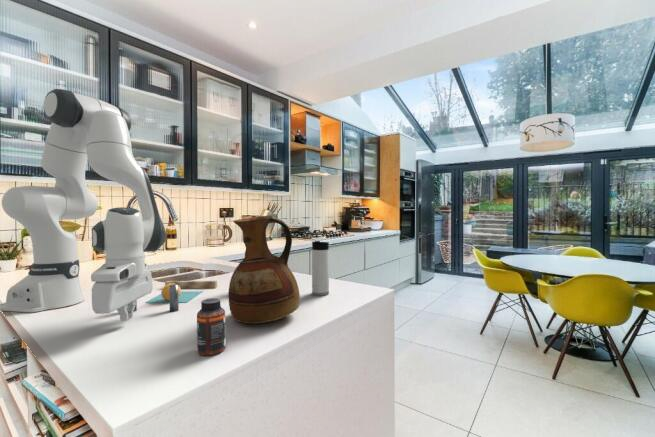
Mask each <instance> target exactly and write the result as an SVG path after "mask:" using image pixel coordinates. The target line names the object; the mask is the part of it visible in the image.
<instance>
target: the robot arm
mask: <svg viewBox="0 0 655 437" xmlns="http://www.w3.org/2000/svg"><path fill="white" fill-rule="evenodd" d="M42 109H43V113H44V116H45V117H46V118H47V120H48V121H49V122H51V125H50V127H49V129H48V132H47V134H46V138H45V143H44V148H43V151H42V155H41V161H40V164H41V167H42V169H43V170H44V172H46V173H47V174H48V175H50V176H52V177H53V178H54V179H55V185H54V186H45V185H43V186H42V185H23V186H22V185H21V186H16V187H11V188H8V189H7V191H6V192H5V193H4V194H3V196H2V199H1V207H2V210H3V211H4V213H5V214H6V215H7V216H9V218H12V219H13V220H15V221H17V222H18V223H20V225H22V226H23V227H24V228H25V230H26V232H27V233H28V235H29V237H30V240H31V245H32V256H33V257H32V258H33V263H31V265H24V267H25V268H24V270H28V273H27V275H26V276H24V277H23V278H22V279H21V280H19V281H18V282H16V283H15V284H14V285H12V286H10V287H9V289H8V290H7V293H6V297H5V302H3V303H1V304H0V311H1V312H3V311H5V312H21V313H36V312H42V311H47V310H53V309H59V308H60V309H61V308H63V307H64V308H65V307H68V306H72V305H76V304H80V303H82V302H84V301H85V297H84V295H83V291H82V287H81V282H80V275H79V274H80V259H78V239H77V237H76V236H75V235H74V234H73V233H71V232H69V231H66V230H64V228H62V226H61V224H60V221H62V220H63V221H64V220H67V221H68V220H80V219H84V218H88V217H93V215H95V214H96V212H97V210H98V209H99V208H98V207H99V200H98V198H97V196H96V195H95V193H93V192H92V191H91V190H90V188H89V186H88V184H87V182H86V170H87V164H88V165H89V167H90V168H91V169H92V170H93V171H94V172H95V173H96V174H98V175H99V176H100V177H103V178H105V179H107V180H109V181H112V182H115V183H118V184H121V185H123V186H124V187H127V188H129V189H130V190H131V191H132V192H133V193H134V194H135V196H136V199H137V200H136V201H137V204H138V206H139V210H138V209H137V208H132V207H113V208H109V209H107V211H106V215H105V216H106V217H105V219H104V220H100V221H98V222H96V224H95V225H93V227H91V248H93V249H94V250H96V251H97V252H99V253H100V254H102V253H103V254H106V255H105V262H104V263H103V264H102V265H101V266H100V267H99V268H97V269H95V271H93V272H92V273H91V276H90V280H91V282H92V283H93V282H94V283H93V285H92V287H91V307H92V311H93V312H94V314H98V315H99V314H100V315H101V314H102V315H104V314H105V315H106V314H110V313H112V312H115V311H117V313H118V315H119V320H120V321H121V322H127V321H128V320H130V319H132V318H133V317H134V312H135V311H134V308H135V305H136V300H137V301H138V300H139V299H142V298H143V297H145V296H147V295H150V294H151V293H152V291H153V286H154V284H153V277H152V276H153V275H152V271H151V270H150V269H149V265H147V263H146V262H145V260H146V259H145V258H146V257H145V252H156V251H157V250H159V249H160V248H161V247H162V246H163V245H164V244H165V242H166V241H167V240H166V239H167V233H166V232H167V231H166V228H165V225H164V223H163V221H162V218H161V216H160V212H159V209H158V205H157V202H156V199H155V198H156V197H155V195H154V191H153V187H152V184H151V181H150V177H149V175H148V173H147V171H146V170H145V168H143V167H141V166H140V165H139V164H138V162H137V161H136V159H135V157H134V154H133V150H132V149H133V147H132V139H131V134H130V131H131V127H132V118H131V116H130V114H129V113H128V112H127V111H126V110H125V109H123V108H122V107H119V106H117V105H113V104H111V103H109V102H106V101H104V100H101V99H99V98H95V97H92V96H87V95H83V94H81V93H76V92H72V90H68V89H61V88H54V89H52V90H50V91H48V92H47V94H46V96H45V97H44V101H43V108H42ZM133 311H134V312H133Z"/></svg>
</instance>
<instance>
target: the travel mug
mask: <svg viewBox="0 0 655 437" xmlns="http://www.w3.org/2000/svg"><path fill="white" fill-rule="evenodd" d="M329 243H330V242H328V241H320V240H314V241H311V294H312V295H313V296H317V297H325V296H327V295H329V294H330V249H329V246H330V245H329Z"/></svg>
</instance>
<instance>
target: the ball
mask: <svg viewBox="0 0 655 437" xmlns="http://www.w3.org/2000/svg"><path fill="white" fill-rule="evenodd" d="M171 284H174V283H170V284H167V285H165V284H164V286H163V287H162V289H161V294H162V297H163V298H164V299H165V300H167V301H170V300H169V285H171ZM181 291H182V288H180V287H179V286H178V297H179V296H180V294H181Z"/></svg>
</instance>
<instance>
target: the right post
mask: <svg viewBox="0 0 655 437" xmlns="http://www.w3.org/2000/svg"><path fill="white" fill-rule="evenodd" d="M169 300H170V303H169V312H171V313H174V312H179V310H180V309H179V304H180V303H178V284H171V285H169Z"/></svg>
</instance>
